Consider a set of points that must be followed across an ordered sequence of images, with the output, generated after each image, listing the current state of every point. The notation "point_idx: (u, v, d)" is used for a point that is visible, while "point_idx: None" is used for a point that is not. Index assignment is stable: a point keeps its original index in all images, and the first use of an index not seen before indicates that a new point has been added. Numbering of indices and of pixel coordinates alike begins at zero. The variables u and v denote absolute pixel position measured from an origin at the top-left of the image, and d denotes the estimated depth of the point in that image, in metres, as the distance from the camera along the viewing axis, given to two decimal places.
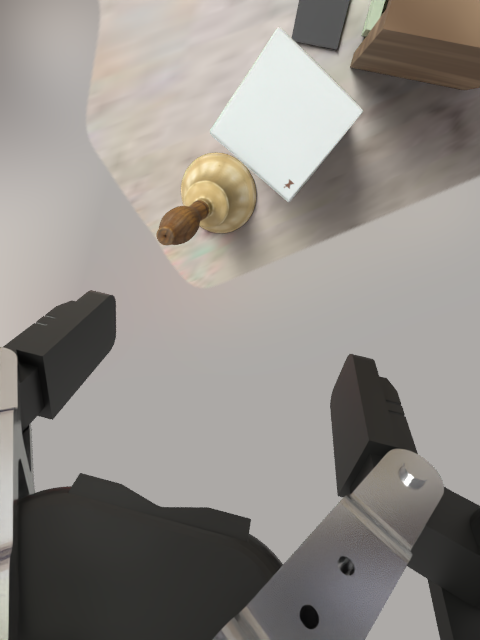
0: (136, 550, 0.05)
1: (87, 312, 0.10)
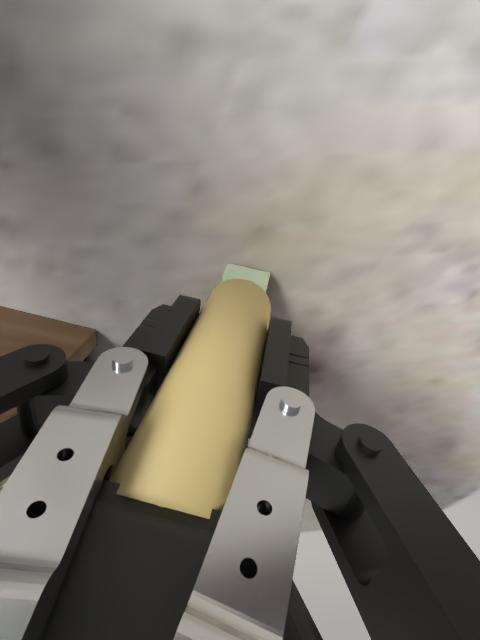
0: (136, 550, 0.05)
1: (186, 315, 0.11)
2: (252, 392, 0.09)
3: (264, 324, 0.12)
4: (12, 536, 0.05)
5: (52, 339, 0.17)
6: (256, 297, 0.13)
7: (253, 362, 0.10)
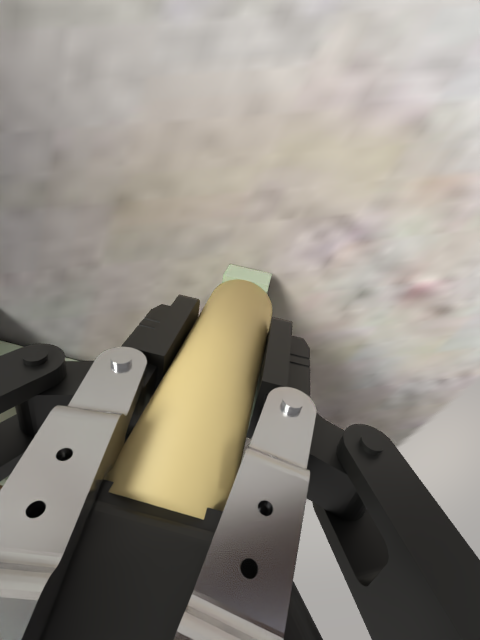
0: (136, 550, 0.05)
1: (185, 315, 0.11)
2: (250, 392, 0.09)
3: (264, 325, 0.12)
4: (12, 536, 0.05)
5: None
6: (256, 298, 0.13)
7: (251, 362, 0.10)
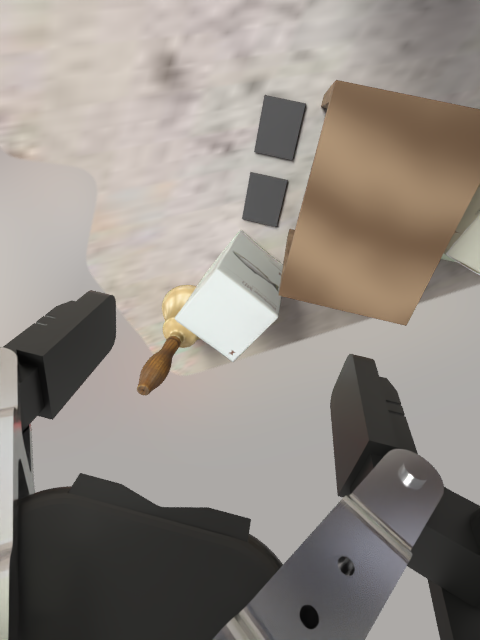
0: (136, 550, 0.05)
1: (87, 312, 0.10)
2: None
3: None
4: None
5: None
6: None
7: None
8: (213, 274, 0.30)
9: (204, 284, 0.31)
